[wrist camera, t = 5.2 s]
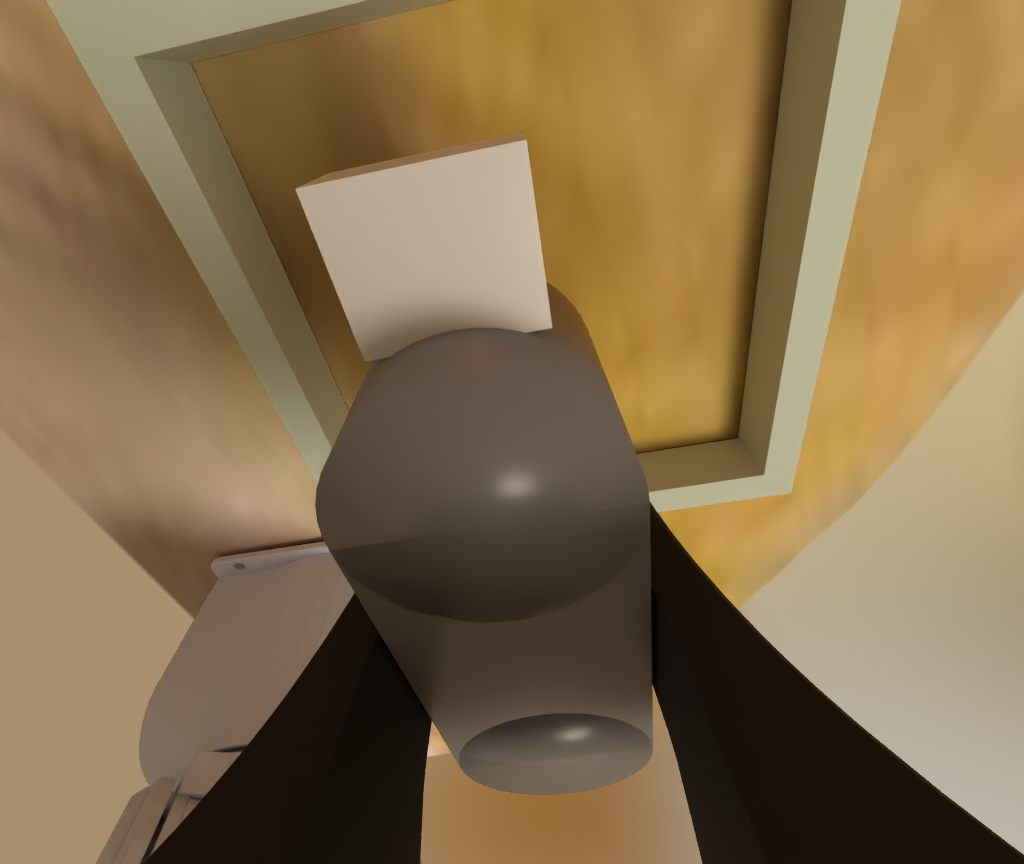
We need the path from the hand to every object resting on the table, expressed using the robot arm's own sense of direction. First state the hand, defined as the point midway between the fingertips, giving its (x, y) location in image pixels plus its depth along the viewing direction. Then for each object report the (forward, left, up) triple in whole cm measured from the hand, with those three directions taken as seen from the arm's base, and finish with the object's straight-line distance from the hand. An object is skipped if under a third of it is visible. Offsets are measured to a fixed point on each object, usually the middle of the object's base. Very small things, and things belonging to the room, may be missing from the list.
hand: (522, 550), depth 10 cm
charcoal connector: (0, 0, -1) cm, 1 cm away
